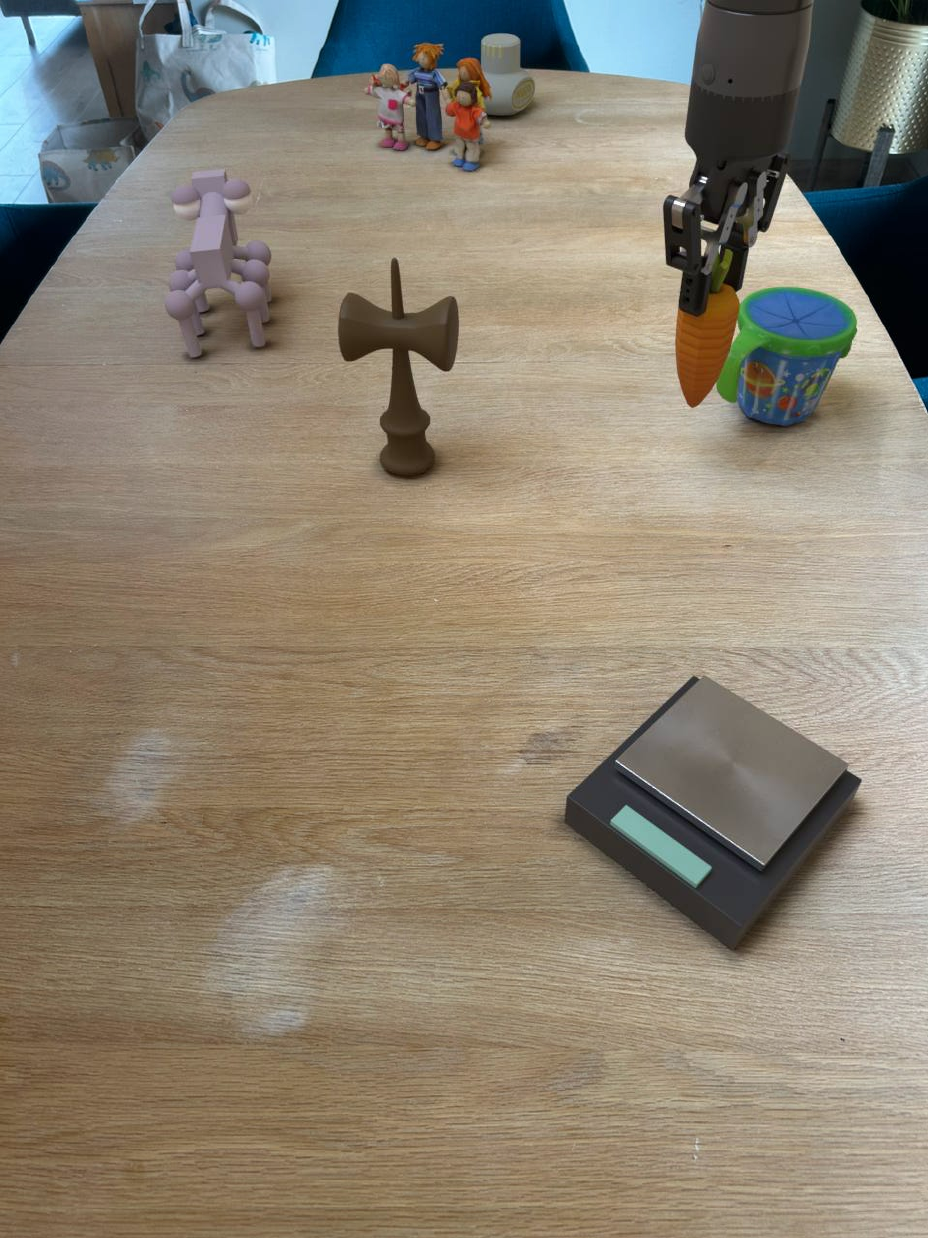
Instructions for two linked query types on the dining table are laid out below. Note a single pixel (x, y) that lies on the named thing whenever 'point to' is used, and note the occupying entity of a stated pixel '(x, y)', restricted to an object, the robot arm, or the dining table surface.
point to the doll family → (434, 104)
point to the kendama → (401, 364)
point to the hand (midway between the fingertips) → (710, 299)
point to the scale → (692, 844)
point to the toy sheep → (217, 256)
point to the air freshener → (505, 75)
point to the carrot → (706, 336)
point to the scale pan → (732, 770)
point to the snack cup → (785, 352)
